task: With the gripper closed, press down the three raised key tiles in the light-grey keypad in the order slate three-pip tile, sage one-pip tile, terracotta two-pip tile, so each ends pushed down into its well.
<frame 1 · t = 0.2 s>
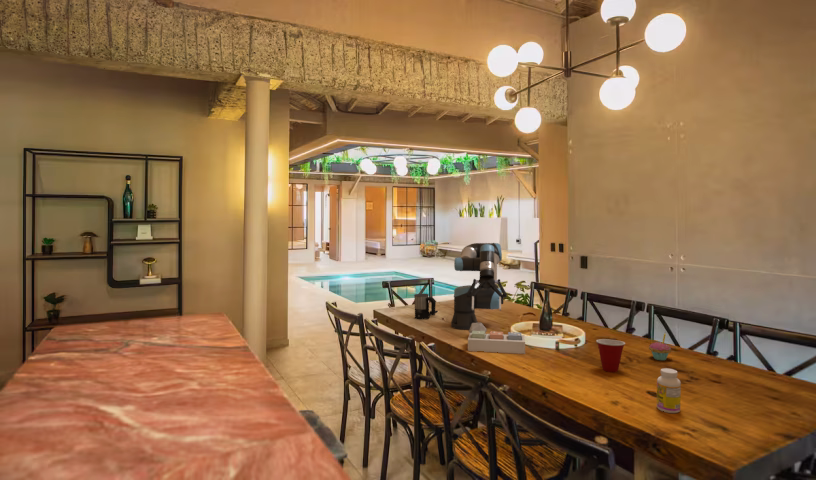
hand: (486, 309, 229), 16 cm above the table, tool tilted 35°, fingers open, 13 cm apart
sage tile 1: (478, 335, 219), point 6 cm above the table, slide at 0.0 cm
slate tile 3: (514, 337, 215), point 6 cm above the table, slide at 0.0 cm
keypad housing: (496, 348, 217), on the table
plastic cup: (610, 370, 186), on the table
cupcake: (659, 359, 199), on the table
milk frother: (426, 317, 287), on the table
supplement bottle: (668, 410, 147), on the table
terracotta tile 2: (496, 336, 217), point 6 cm above the table, slide at 0.0 cm
die: (477, 338, 237), on the table
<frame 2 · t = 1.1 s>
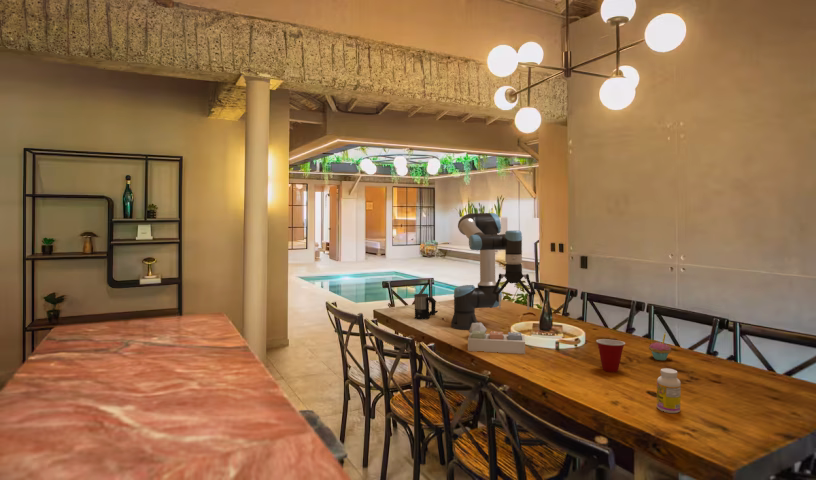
hand: (513, 309, 214), 19 cm above the table, tool pointing down, fingers open, 12 cm apart
nothing on the table moved.
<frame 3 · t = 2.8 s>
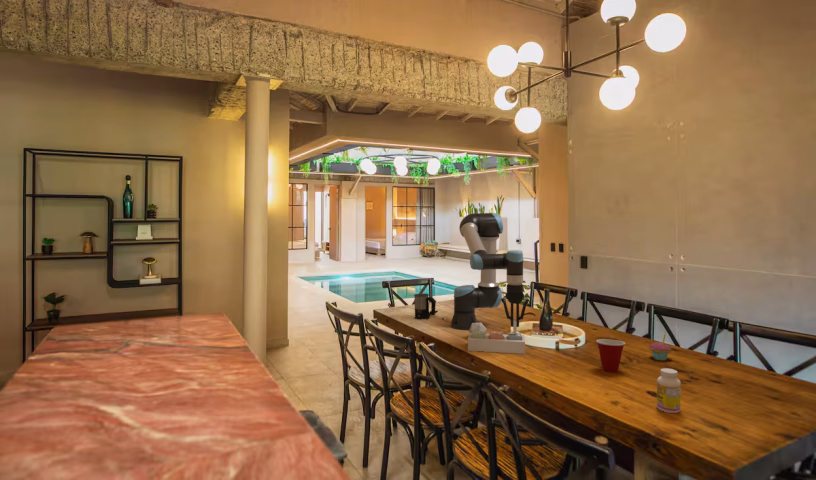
hand: (514, 333, 215), 8 cm above the table, tool pointing down, fingers closed
slate tile 3: (514, 338, 215), point 6 cm above the table, slide at 0.3 cm, touching gripper
everything else where it was.
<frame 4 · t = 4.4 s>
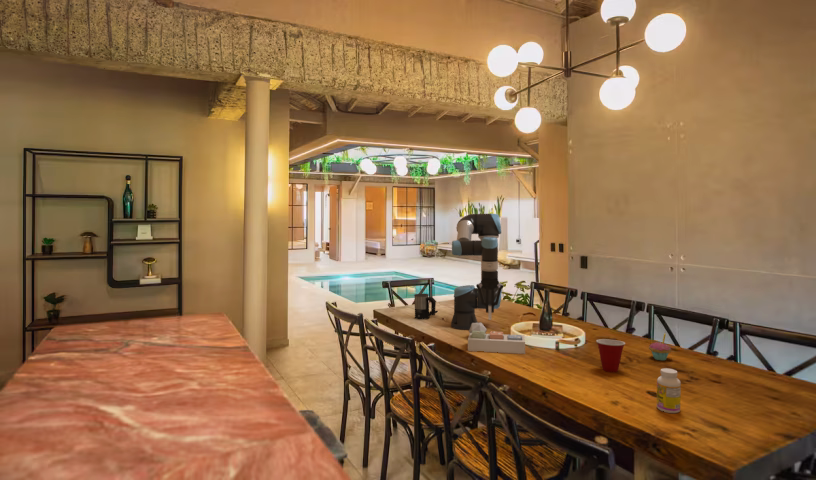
hand: (489, 319, 217), 14 cm above the table, tool pointing down, fingers closed
slate tile 3: (514, 339, 215), point 5 cm above the table, slide at 1.2 cm
everything else where it was.
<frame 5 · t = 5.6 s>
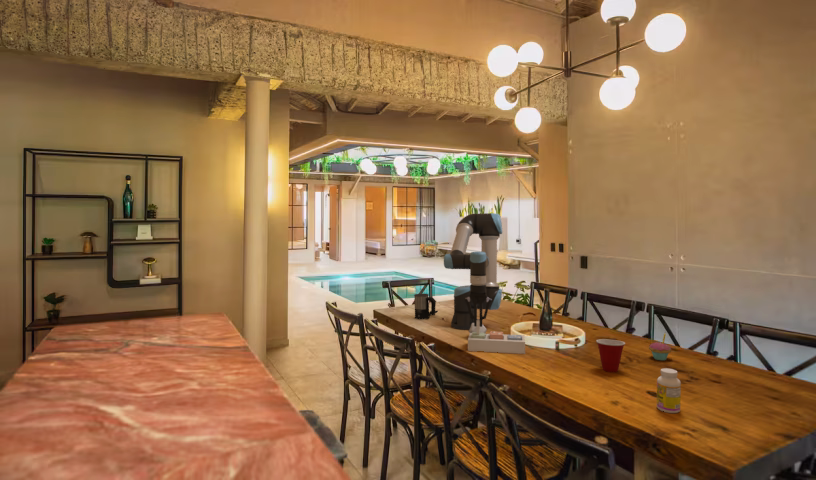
hand: (478, 333, 218), 7 cm above the table, tool pointing down, fingers closed
sage tile 1: (478, 337, 219), point 5 cm above the table, slide at 0.8 cm, touching gripper
everything else where it was.
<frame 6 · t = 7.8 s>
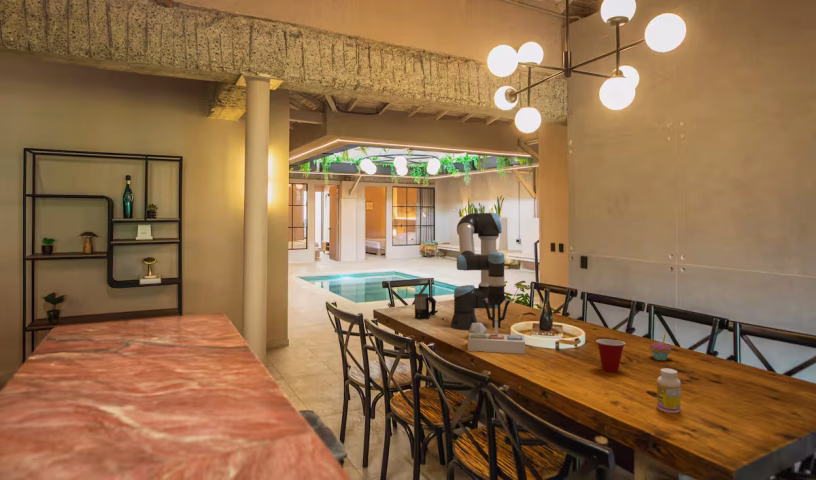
hand: (496, 334, 217), 7 cm above the table, tool pointing down, fingers closed
sage tile 1: (478, 338, 219), point 5 cm above the table, slide at 1.2 cm
terracotta tile 2: (496, 338, 217), point 5 cm above the table, slide at 1.1 cm, touching gripper
everything else where it was.
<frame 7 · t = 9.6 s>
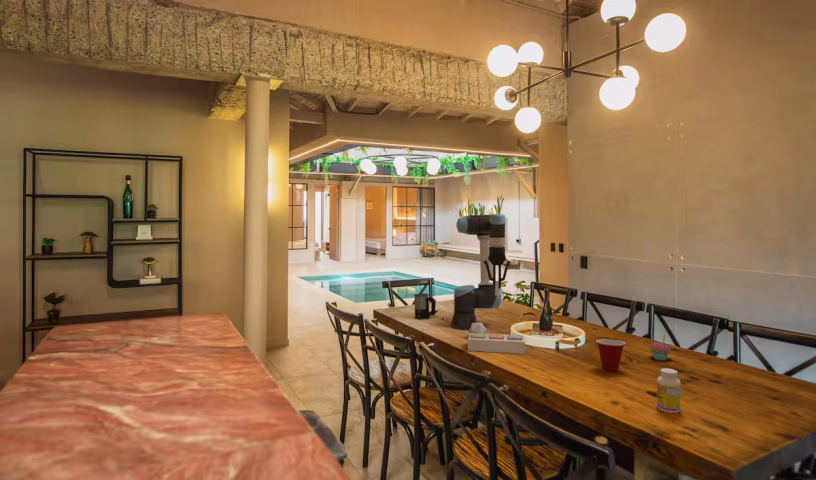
hand: (497, 294, 220), 25 cm above the table, tool pointing down, fingers closed
terracotta tile 2: (496, 339, 217), point 5 cm above the table, slide at 1.2 cm
everything else where it was.
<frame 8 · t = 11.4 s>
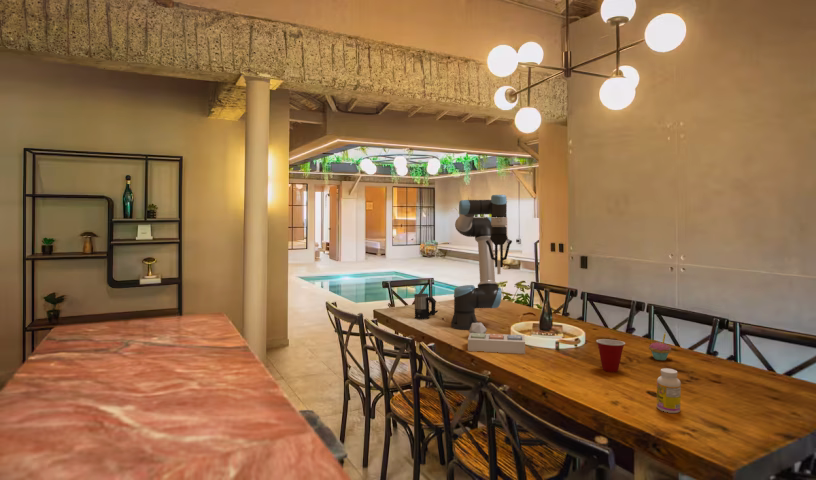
hand: (498, 273, 226), 34 cm above the table, tool pointing down, fingers closed
nothing on the table moved.
at the end: slate tile 3 slide at 1.2 cm; sage tile 1 slide at 1.2 cm; terracotta tile 2 slide at 1.2 cm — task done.
